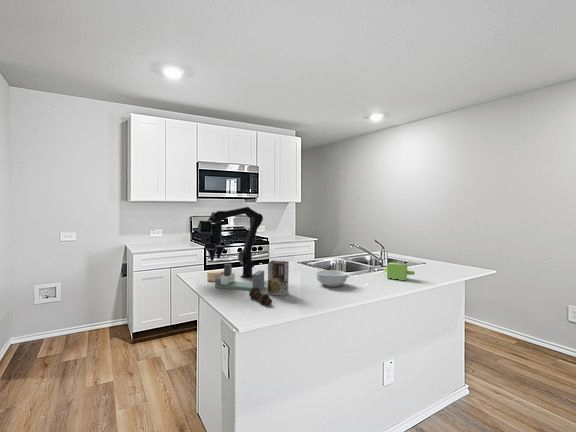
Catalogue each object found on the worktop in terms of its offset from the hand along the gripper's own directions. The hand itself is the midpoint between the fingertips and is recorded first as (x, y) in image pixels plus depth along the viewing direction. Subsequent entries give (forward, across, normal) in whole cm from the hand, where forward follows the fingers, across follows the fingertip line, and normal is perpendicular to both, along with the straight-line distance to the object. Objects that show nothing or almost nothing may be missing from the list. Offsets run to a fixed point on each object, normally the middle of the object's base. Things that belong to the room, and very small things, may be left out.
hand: (215, 259), depth 187 cm
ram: (+10, +10, +12) cm, 18 cm away
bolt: (+12, +32, +36) cm, 50 cm away
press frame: (+12, +10, +19) cm, 24 cm away
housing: (+12, -1, +1) cm, 12 cm away
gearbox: (+8, -30, +107) cm, 112 cm away
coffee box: (+12, +18, +41) cm, 46 cm away
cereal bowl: (+10, -5, +67) cm, 68 cm away
